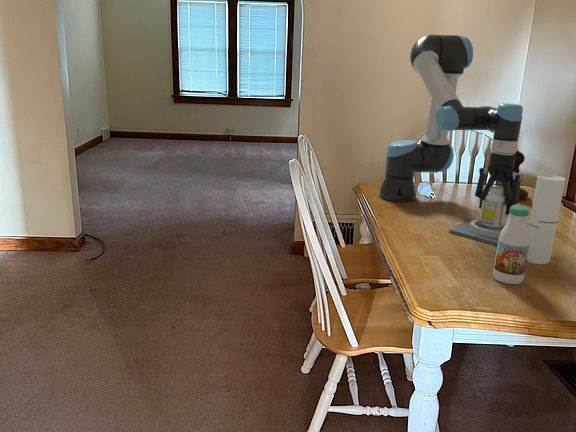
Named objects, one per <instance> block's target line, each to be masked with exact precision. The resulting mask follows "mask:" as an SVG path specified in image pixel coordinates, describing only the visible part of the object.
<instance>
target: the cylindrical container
mask: <svg viewBox="0 0 576 432" xmlns="http://www.w3.org/2000/svg"><path fill="white" fill-rule="evenodd" d="M565 183H566V178H565V177H562V176H559V175H555V174H554V175H553V174H538V175H537V178H536V182H535V188H534V195H533V200H532V205H531V210H530V211H531V212H530V217H529V223H528V226H527V227H528V231H529V234H530V245H529V252H528V258H527V263H530V264H535V265H548V264H549V263H550V262H551V261H550V260H551V255H552V250H553V246H554V242H555V241H554V239H555V235H556V230H557V226H558V225H557V224H558V221H559V216H560V209H561V204H562V199H563V195H564V189H565V185H566V184H565ZM547 263H548V264H547Z"/></svg>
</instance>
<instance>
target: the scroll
mask: <svg viewBox="0 0 576 432" xmlns="http://www.w3.org/2000/svg"><path fill="white" fill-rule="evenodd" d="M514 154H515V155H516V158H515V164H514V172H515V173H517V174H520V166H521V165H522V164H524V162H525V155H524V153H523V152H521V151H519V150H518V149H517V152H516V153H514ZM513 182H514V179H513V176H511V177H510V187H511V193H512V196H513ZM521 182H522V180H521V181H520V183H521ZM496 187H503V185H502V184H501V185H496ZM504 196H505V194H504ZM527 197H529V192H528V191H527V190H526V189H525V188H523V187H520V195H519V199H520V198H521V199H522V201H525V200H526V198H527Z"/></svg>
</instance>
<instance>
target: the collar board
mask: <svg viewBox="0 0 576 432" xmlns="http://www.w3.org/2000/svg"><path fill="white" fill-rule="evenodd" d="M482 221H483V219H480V218H475V219H474V220H471V221H468V222H465V223H463V224H460V225H457V226H455V227H452V228H449V229H448V233H451V234H454V235H458V236H460V237H465V238H468V239H471V240H475V241H478V242H482V243H486V244H489V245H492V246H495V247H497V245H498V240H499V236H500V233H501V231H502V229H503V228H504V226H505V225H506V224H507V223H506V224H503V226H502V227H499V228H494V227H488V226H485V225H484V224H483V223H482Z"/></svg>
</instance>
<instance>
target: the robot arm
mask: <svg viewBox="0 0 576 432" xmlns="http://www.w3.org/2000/svg"><path fill="white" fill-rule="evenodd" d="M409 54H410V57H409V59H410V64H411V67H412V69H413V71H415V73H417V74H419V76H420V78H421V80H422V81H423V84H424V86H425V87H426V90H427V91H428V93H429V94H430V97H431V101H430V106H429V111H428V118H427V125H426V130H425V134H424V135H423V136H422V137H420V143H418V141H416V140H412V139H408V140H407V139H401V140H400V139H399V140H396V141H392V142H390V143H389V144H388V147H387V150H386V160H385V161H386V164H385V173H384V174H385V175H384V179H383V182H382V184H381V186H380V188H379V194H378V196H379V197H380V198H381V199H383V200H386V201H391V202H392V201H393V202H401V203H402V202H403V203H405V202H412V201H416V200H417V190H416V186H415V180H414V179H415V178H414V177H415V173H433V174H434V173H435V174H436V173H442V172H446V171H447V170H449V169H450V167H451V165H452V163H453V161H454V156H455V154H454V148H453V146H452V145H451V141H450V140H449V138H448V134H449V131H491V132H493V138H492V144H491V151H492V152H491V153H490V157H489V158H490V159H489V165H488V167H485V166H484V167H481V168H479V169H478V171H479V177H478V181H477V185H476V190H475V192H474V196H475V198H476V197H477V198H479V205H478V208H479V209H480V215H479V219H483V213H484V207H485V199H486V196H487V195H488V194H490V187H494V184H495V183H496V182H499V183H501V186H502V185H503V189H504V194H505V199H506V204H505V205H504V207H503V213H502V219H501V224H502V225H503V224H506V223H507V222H508V219H509V218H508V216H510V215H509V211H510V207H512V206H517V205H518V204H519V203H520V198H519V195H520V188H521V182H522V178H523V176H524V175H523V174H522V173H518V174H517V173H515V172H514V164H515V158H516V155H515V154H514V153H516V152H517V150H518V144H519V143H518V142H519V138H520V133H521V127H522V122H523V121H522V120H523V109H524V107H523V105H521V104H519V103H517V104H516V103H499V104H498V106H497V107H494V106H488V105H486V106H484V105H483V106H476V107H475V106H463V103H462V102H461V101H460V99H459V97H458V95H457V93H456V90H457V86H458V81H459V78H460V77H461V76H462V75H463V74H464V71H465V69H467V68H469V67H470V66H471V64H472V62H473V58H474V48H473V44H472V42H471V40H470V39H469V38H468V37H467V36H464V35H457V34H456V35H455V34H451V35H450V34H426V35H424V36H422V37H420V38H419V39H418V40H417V41H416V42H415V43H414V44H413V46H412V48H411V50H410V53H409ZM487 174H489V178H488V180H487V183H486V178H487ZM511 176H513V179H514V182H513V196H512V193H511V187H510V177H511ZM520 181H521V182H520ZM485 183H486V184H485Z"/></svg>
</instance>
